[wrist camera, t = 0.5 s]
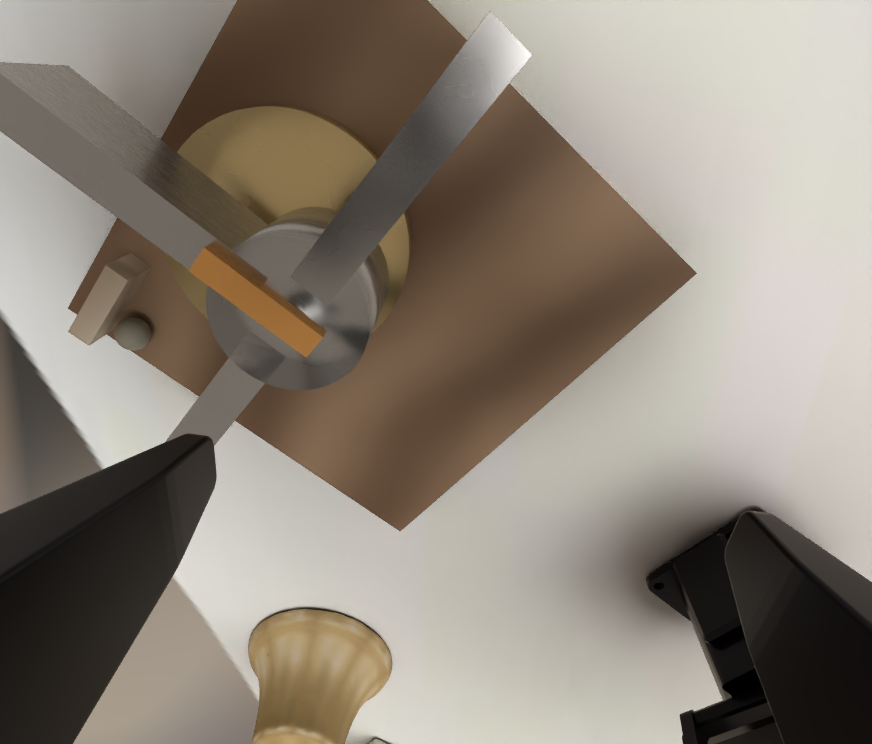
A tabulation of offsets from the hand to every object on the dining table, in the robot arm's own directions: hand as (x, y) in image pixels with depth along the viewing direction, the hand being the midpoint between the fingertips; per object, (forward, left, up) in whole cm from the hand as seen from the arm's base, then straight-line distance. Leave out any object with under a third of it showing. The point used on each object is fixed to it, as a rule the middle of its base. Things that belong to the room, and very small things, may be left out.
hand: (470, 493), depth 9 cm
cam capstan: (+7, +3, -11) cm, 13 cm away
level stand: (+3, +3, -13) cm, 13 cm away
